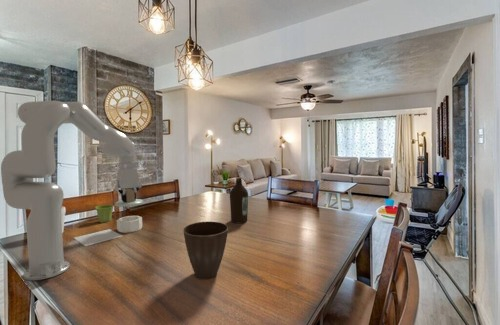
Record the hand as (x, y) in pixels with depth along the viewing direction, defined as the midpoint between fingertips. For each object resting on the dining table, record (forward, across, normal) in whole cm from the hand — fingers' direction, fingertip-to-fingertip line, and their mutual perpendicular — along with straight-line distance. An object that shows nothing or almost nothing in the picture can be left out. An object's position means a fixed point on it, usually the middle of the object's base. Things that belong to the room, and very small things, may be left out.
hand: (129, 200), depth 133 cm
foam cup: (+15, +27, -22) cm, 38 cm away
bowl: (+15, 0, 0) cm, 15 cm away
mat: (+15, +15, 0) cm, 22 cm away
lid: (+1, 0, 0) cm, 1 cm away
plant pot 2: (+15, +4, +66) cm, 68 cm away
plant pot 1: (+16, +2, -27) cm, 31 cm away
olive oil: (+16, -48, +33) cm, 60 cm away
